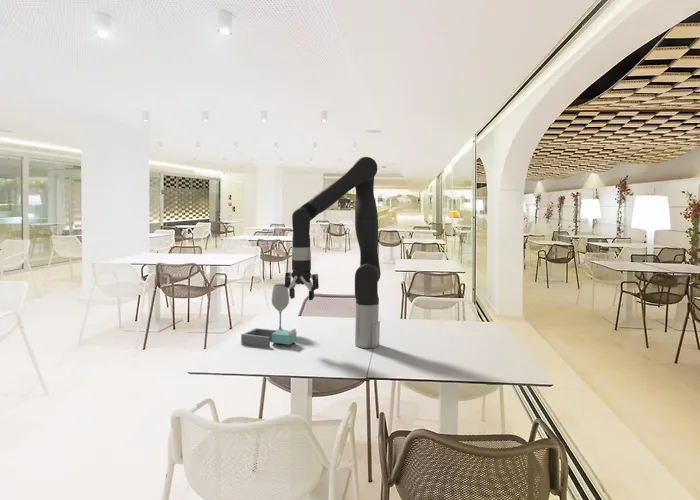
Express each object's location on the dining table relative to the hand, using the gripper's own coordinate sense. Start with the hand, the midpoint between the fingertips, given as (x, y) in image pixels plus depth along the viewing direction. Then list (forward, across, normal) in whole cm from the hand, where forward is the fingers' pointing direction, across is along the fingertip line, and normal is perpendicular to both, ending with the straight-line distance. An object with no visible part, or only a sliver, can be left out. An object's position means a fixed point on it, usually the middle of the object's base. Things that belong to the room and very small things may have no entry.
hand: (301, 299), depth 192 cm
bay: (+19, +16, +3) cm, 25 cm away
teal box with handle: (+19, +7, +2) cm, 20 cm away
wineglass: (+19, +20, -14) cm, 31 cm away
